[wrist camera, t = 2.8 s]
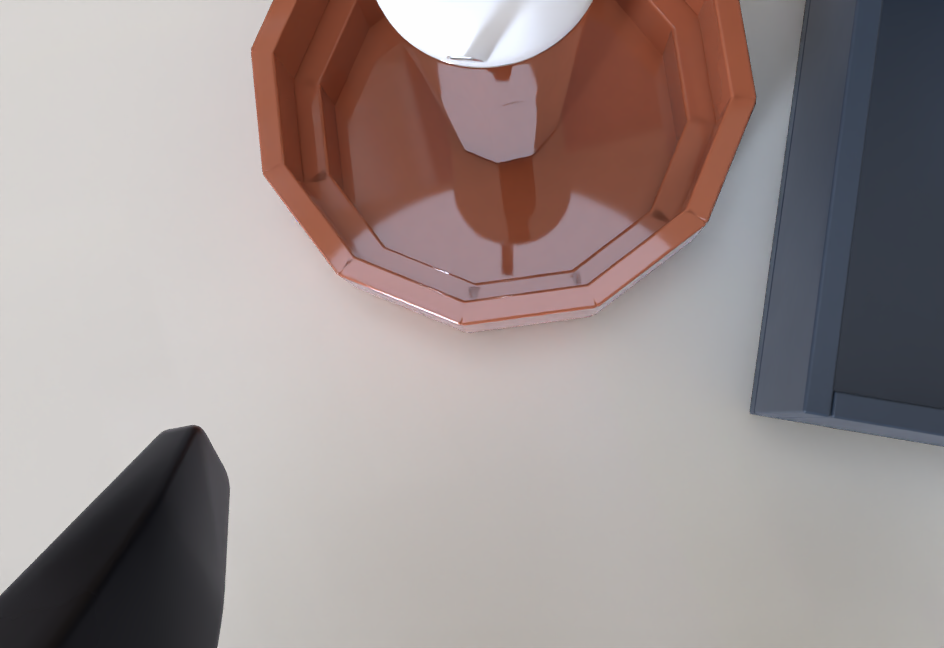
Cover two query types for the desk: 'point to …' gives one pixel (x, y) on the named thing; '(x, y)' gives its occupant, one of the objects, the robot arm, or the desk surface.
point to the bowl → (508, 183)
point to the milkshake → (494, 65)
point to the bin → (860, 227)
